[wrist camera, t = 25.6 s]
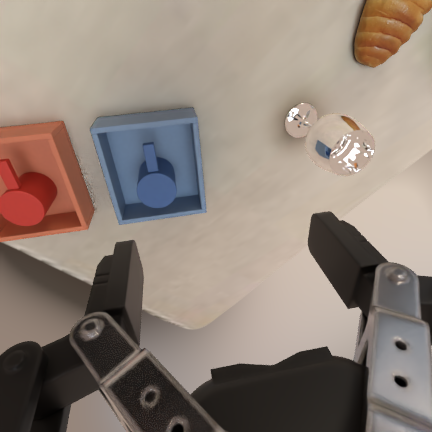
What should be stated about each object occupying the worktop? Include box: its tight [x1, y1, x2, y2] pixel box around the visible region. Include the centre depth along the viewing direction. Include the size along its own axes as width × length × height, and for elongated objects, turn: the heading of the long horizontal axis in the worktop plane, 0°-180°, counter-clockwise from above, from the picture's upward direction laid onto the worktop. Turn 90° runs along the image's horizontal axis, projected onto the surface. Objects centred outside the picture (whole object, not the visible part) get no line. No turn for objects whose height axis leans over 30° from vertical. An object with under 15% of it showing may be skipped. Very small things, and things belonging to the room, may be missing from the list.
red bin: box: [0, 121, 95, 242], centre depth 34 cm, size 12×11×5 cm
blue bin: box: [90, 107, 207, 225], centre depth 35 cm, size 12×11×5 cm
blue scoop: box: [137, 142, 177, 208], centre depth 35 cm, size 8×5×5 cm, turn 4°
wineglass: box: [285, 103, 375, 176], centre depth 33 cm, size 6×6×12 cm
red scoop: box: [0, 159, 57, 226], centre depth 33 cm, size 8×5×5 cm, turn 4°
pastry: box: [354, 0, 432, 68], centre depth 31 cm, size 9×7×4 cm
